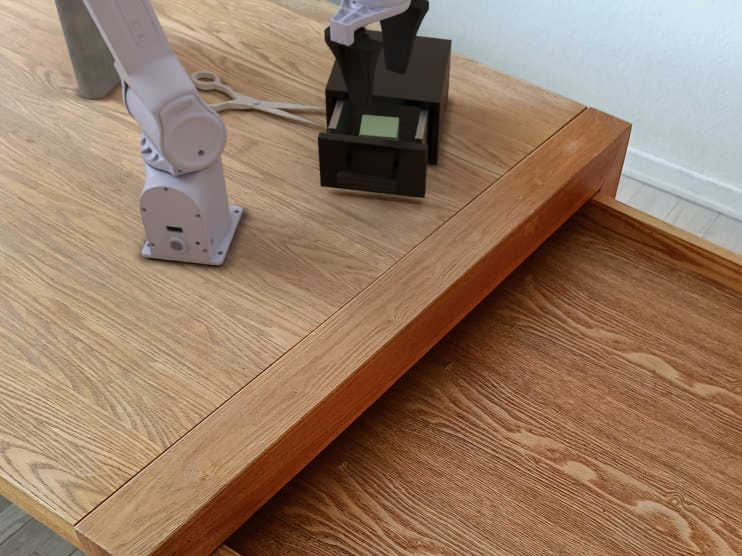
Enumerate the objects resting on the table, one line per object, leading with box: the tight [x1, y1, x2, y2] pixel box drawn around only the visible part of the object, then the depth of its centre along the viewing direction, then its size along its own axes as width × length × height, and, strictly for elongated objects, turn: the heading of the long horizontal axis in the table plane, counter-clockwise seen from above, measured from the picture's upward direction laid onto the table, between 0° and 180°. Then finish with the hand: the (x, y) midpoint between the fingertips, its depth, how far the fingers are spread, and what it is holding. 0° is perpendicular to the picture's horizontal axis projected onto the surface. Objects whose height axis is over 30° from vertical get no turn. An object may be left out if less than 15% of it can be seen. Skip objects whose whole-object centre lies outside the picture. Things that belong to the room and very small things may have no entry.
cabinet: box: [324, 29, 453, 166], centre depth 103 cm, size 15×13×8 cm
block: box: [359, 115, 399, 141], centre depth 97 cm, size 4×4×4 cm
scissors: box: [190, 70, 326, 127], centre depth 105 cm, size 11×1×20 cm
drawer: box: [317, 98, 432, 199], centre depth 97 cm, size 18×11×6 cm, turn 176°
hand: (378, 86), depth 92 cm, fingers open, 7 cm apart
